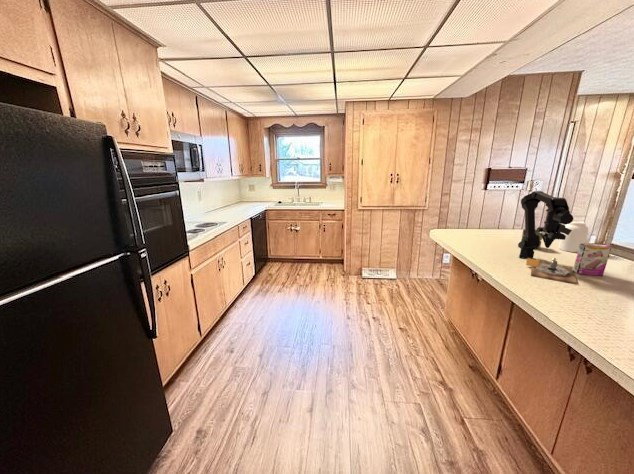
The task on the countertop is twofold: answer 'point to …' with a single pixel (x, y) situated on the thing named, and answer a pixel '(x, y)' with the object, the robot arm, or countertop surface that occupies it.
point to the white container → (574, 236)
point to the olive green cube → (536, 234)
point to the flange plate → (546, 268)
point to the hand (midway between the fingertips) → (547, 247)
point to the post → (553, 265)
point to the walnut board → (569, 278)
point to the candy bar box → (591, 259)
